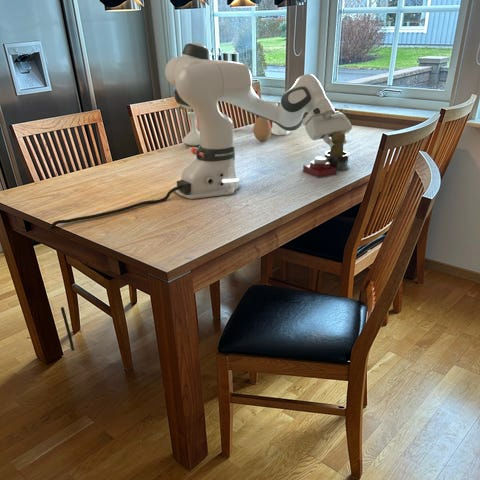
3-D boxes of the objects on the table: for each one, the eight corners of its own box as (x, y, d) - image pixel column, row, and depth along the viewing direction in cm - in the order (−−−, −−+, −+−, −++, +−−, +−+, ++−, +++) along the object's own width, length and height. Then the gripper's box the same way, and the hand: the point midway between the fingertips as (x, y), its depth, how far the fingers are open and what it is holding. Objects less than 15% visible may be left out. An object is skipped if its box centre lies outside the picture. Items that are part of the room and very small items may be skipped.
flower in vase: (210, 142, 227) (207, 83, 214) (202, 148, 218) (199, 87, 204) (184, 141, 230) (179, 83, 216) (175, 146, 221) (170, 86, 207)
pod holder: (333, 172, 184) (335, 157, 181) (319, 166, 191) (320, 152, 188) (351, 168, 188) (353, 154, 185) (336, 163, 195) (338, 149, 192)
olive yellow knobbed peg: (343, 164, 185) (346, 134, 179) (327, 163, 186) (330, 134, 180) (343, 160, 190) (346, 131, 184) (328, 159, 191) (330, 130, 185)
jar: (277, 130, 246) (277, 105, 240) (292, 132, 243) (293, 106, 237) (269, 134, 240) (270, 108, 233) (285, 136, 237) (285, 109, 230)
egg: (271, 139, 231) (271, 114, 225) (270, 143, 224) (270, 117, 218) (254, 139, 232) (254, 114, 226) (252, 143, 225) (252, 117, 219)
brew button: (319, 165, 180) (319, 160, 179) (311, 162, 183) (312, 157, 182) (328, 163, 181) (328, 158, 180) (321, 160, 185) (321, 156, 184)
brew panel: (319, 177, 179) (320, 166, 177) (303, 171, 186) (303, 160, 184) (336, 174, 182) (337, 163, 180) (319, 168, 189) (320, 157, 187)
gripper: (336, 116, 194) (351, 145, 192) (298, 122, 183) (315, 154, 182) (345, 105, 188) (362, 136, 187) (307, 111, 178) (324, 144, 177)
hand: (338, 145), depth 184 cm, fingers closed on olive yellow knobbed peg, 5 cm apart
